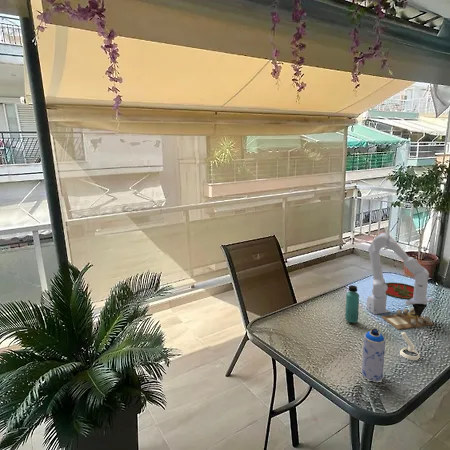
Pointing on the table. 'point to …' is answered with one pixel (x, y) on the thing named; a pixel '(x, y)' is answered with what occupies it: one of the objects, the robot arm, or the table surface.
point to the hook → (409, 348)
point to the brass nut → (412, 316)
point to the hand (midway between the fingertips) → (417, 315)
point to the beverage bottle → (352, 304)
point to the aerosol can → (373, 355)
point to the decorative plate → (400, 290)
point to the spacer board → (406, 320)
